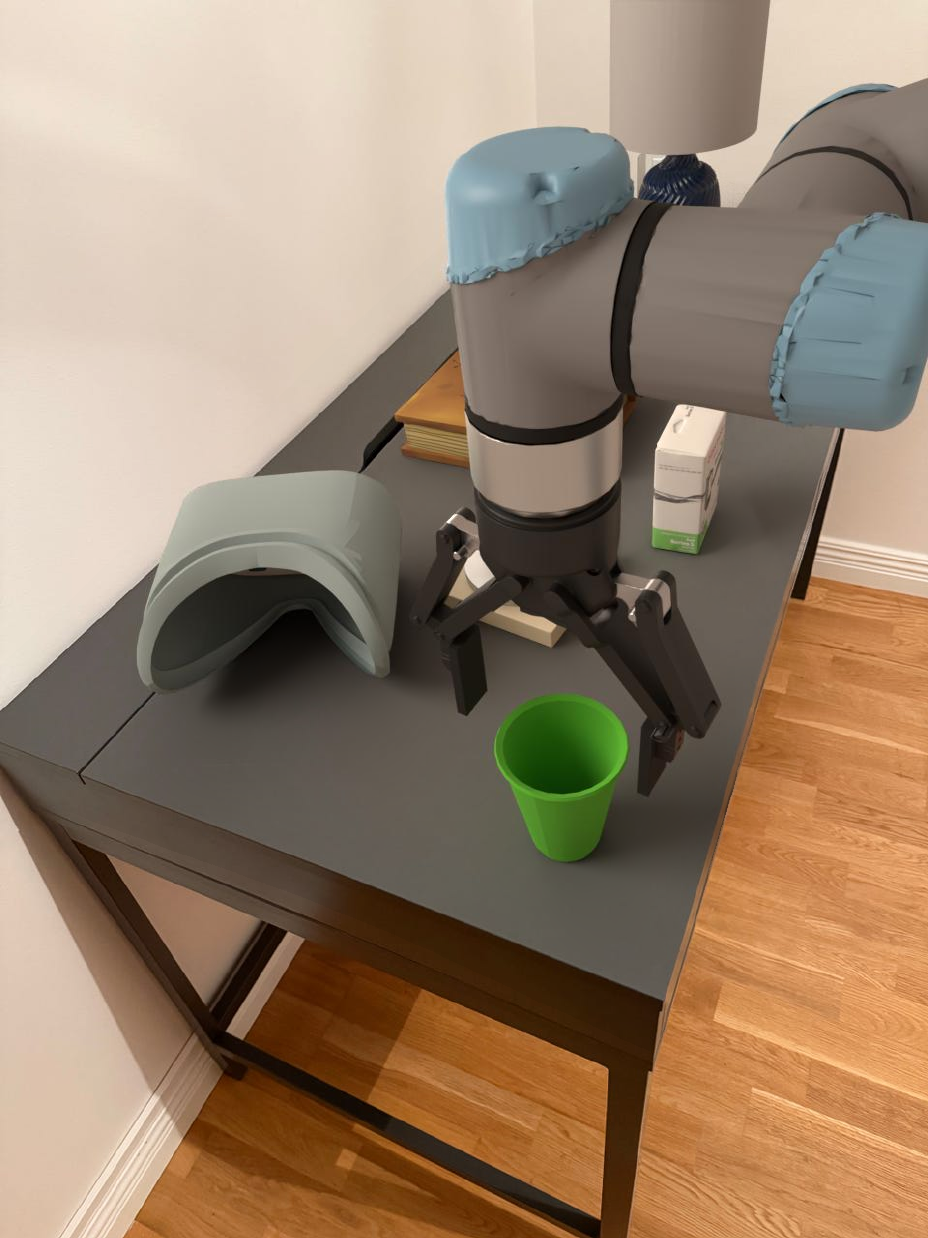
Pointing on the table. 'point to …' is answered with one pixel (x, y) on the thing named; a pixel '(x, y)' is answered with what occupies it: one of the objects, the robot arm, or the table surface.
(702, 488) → the ink box
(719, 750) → the table surface
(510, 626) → the scale
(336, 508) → the grey arched shell
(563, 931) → the table surface
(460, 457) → the diary
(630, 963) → the table surface
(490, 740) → the table surface
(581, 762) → the cup
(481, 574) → the scale pan
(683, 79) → the lamp
